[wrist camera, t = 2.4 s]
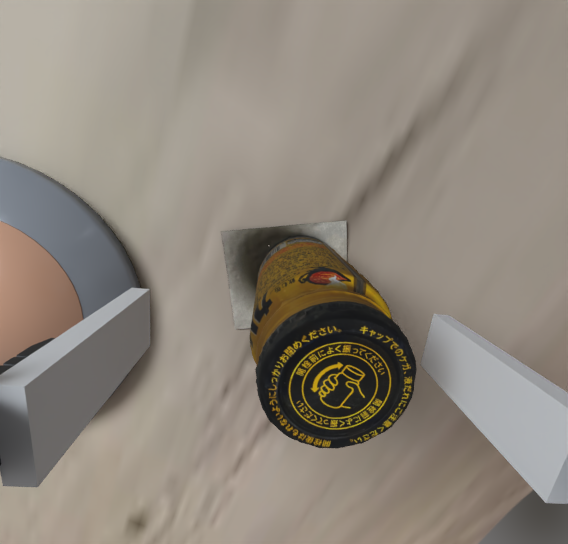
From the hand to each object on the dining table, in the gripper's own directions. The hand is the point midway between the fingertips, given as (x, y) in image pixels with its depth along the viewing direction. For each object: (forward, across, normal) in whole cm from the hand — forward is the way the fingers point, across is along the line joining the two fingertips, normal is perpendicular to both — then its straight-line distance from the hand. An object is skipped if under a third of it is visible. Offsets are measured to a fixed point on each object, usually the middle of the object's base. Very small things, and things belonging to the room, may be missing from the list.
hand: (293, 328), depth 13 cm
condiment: (+8, 0, 0) cm, 8 cm away
